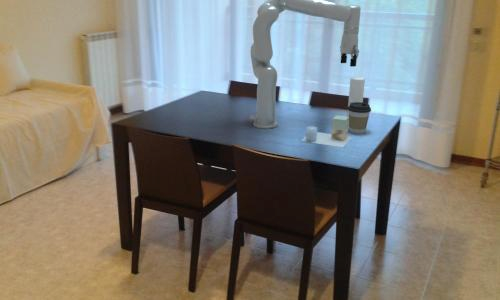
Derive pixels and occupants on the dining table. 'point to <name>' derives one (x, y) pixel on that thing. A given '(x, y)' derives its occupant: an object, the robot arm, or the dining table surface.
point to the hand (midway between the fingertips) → (348, 64)
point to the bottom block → (339, 134)
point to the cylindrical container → (356, 91)
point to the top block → (340, 123)
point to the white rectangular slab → (328, 140)
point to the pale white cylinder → (311, 133)
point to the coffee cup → (358, 116)
